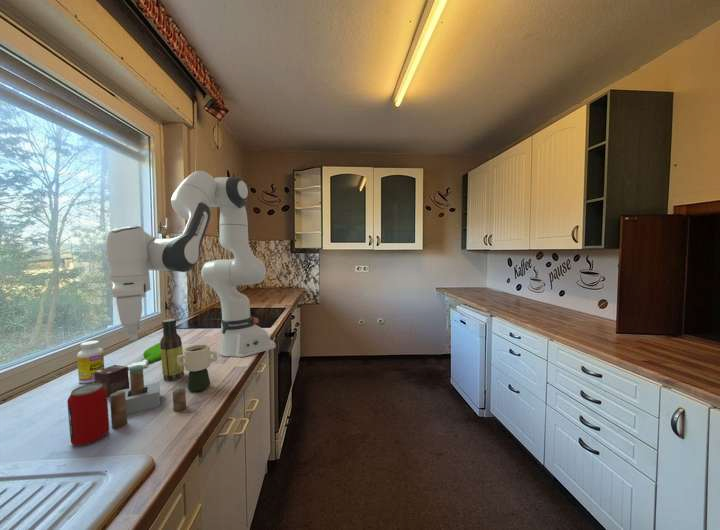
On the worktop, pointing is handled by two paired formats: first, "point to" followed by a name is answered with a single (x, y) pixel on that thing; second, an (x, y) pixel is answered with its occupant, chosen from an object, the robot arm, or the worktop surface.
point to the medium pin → (118, 409)
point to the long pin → (136, 380)
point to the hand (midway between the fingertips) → (134, 335)
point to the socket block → (143, 398)
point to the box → (113, 378)
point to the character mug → (197, 365)
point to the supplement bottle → (89, 361)
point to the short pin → (179, 400)
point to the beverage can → (88, 414)
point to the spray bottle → (149, 356)
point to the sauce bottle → (171, 351)
